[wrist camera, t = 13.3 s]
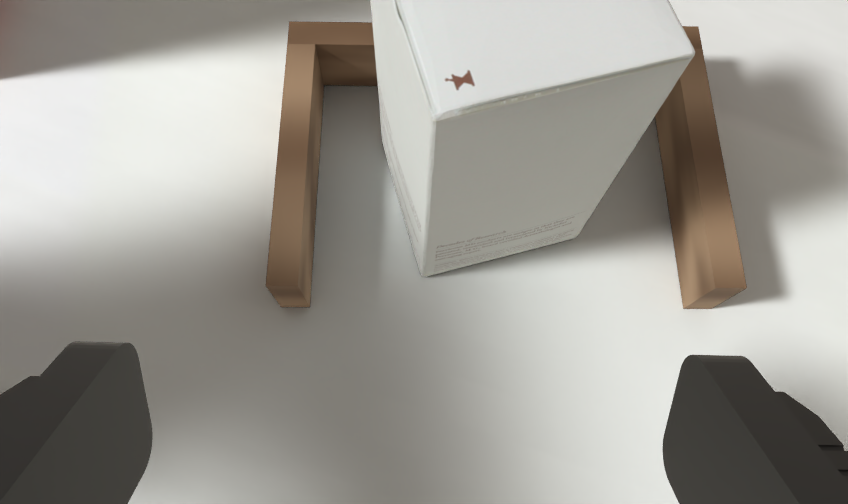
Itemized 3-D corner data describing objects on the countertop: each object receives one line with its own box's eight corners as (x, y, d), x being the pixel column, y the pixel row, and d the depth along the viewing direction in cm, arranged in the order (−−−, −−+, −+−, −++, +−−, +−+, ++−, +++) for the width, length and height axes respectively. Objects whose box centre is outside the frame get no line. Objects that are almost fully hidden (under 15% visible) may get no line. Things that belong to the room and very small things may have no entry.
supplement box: (581, 241, 28) (708, 60, 16) (418, 281, 27) (424, 122, 15) (529, 101, 30) (605, -146, 18) (378, 135, 29) (356, -101, 18)
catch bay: (711, 308, 27) (746, 288, 24) (281, 307, 26) (265, 285, 24) (672, 68, 31) (698, 26, 28) (300, 64, 31) (289, 21, 28)
